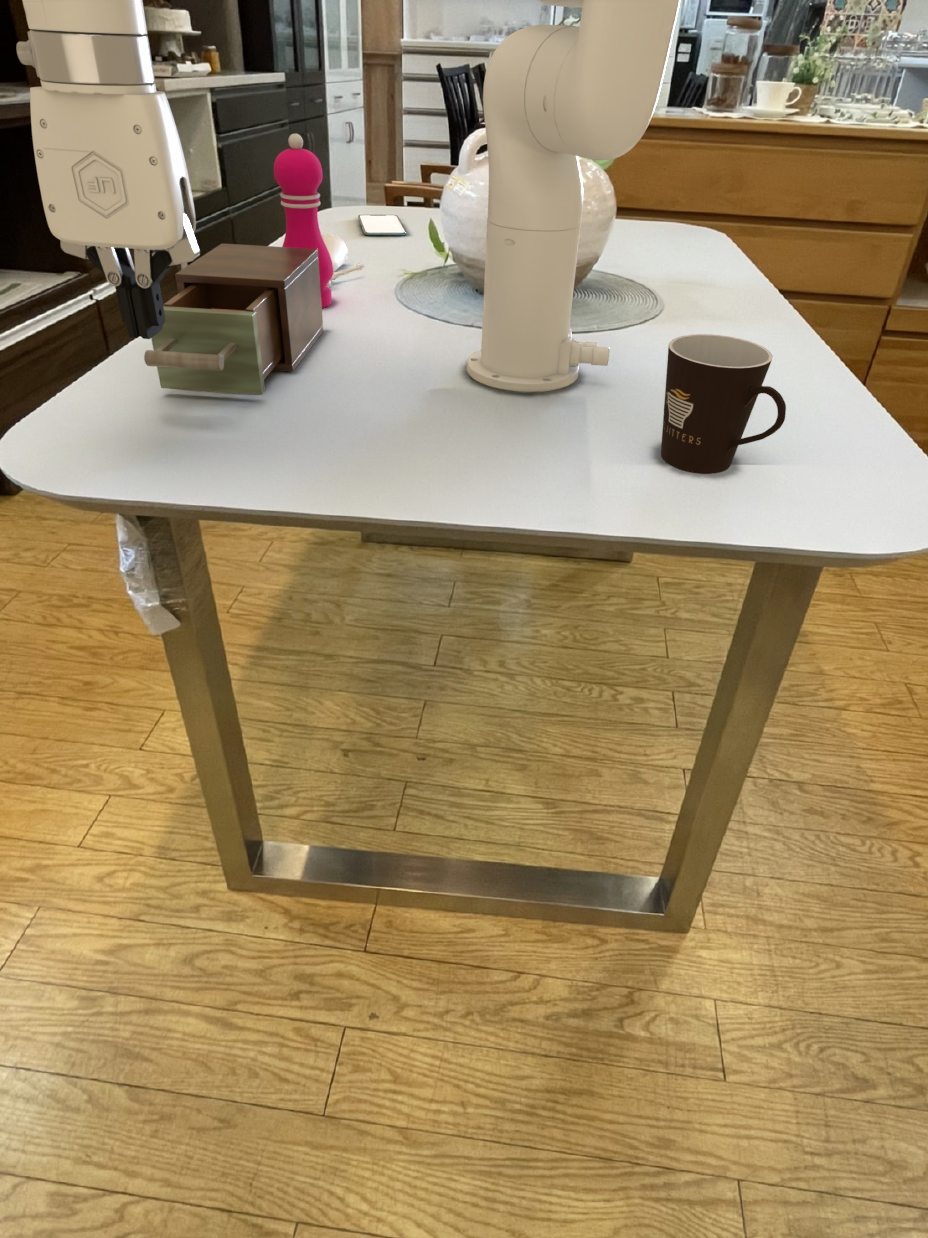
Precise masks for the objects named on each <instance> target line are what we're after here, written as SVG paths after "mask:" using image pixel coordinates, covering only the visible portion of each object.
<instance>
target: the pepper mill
mask: <svg viewBox="0 0 928 1238" xmlns="http://www.w3.org/2000/svg"><path fill="white" fill-rule="evenodd" d="M288 146H289V147H290V148H285V149H284V150H283V151H281V152H280V153H279V154H278V155H277V156H276V158H275V160H274V163H273V177H274V179H275V182H276V183H277V184H278V186H279V187H280V189H281V190H282V191H281V192H280V193H279V197H280V200H281V201H280V205H281V206H283V208H284V214H285V236H284V239H283V243H282V246H281V247H290V248H308V249H318V261H319V276H320V290H321V304H322V309H325V308H326V307H329V306H330V305H331V304H332V298H333V297H332V289H331V287H327V284H328V282H329V281H332V280H331V278H332V276H333V264H332V260H331V257H330V254H329V251H328V249H327V247H326V245H325V243H324V241H323V238H322V236H321V235H322V233H321V229H320V226H319V225H320V224H319V218H318V210H319V209H318V207H320V206H321V201H320V197H321V194H320V193H319V192H318V188H319V187H320V185H321V183H322V181H323V177H324V175H323V168H322V164H321V161H320V159H319V158H318V157H317V156H316V154H314V153H313V152H312V151H310V150H308V149H305V148H303V146H304V139H303V137H302V136H301V134H298V133H292V134H290V135H289V136H288Z"/></svg>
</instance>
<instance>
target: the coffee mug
mask: <svg viewBox="0 0 928 1238" xmlns="http://www.w3.org/2000/svg"><path fill="white" fill-rule="evenodd" d="M667 348H668V350H667V362H666V376H665V390H664V403H663V416H662V418H663V419H662V431H661V433H662V434H661V444H660V445H661V447H660V457H661V459H662V460H663V462H665V464H667V465H669V466H670V467H672V468H674V469H677V470H679V471H683V472H687V473H691V474H698V475H713V474H714V475H716V474H720V473H723V472H726V471H727V470H729V469H730V467H731V465H732V463H733V461H734V457H735V455H736V453H737V450H738V447H739V446H741V445H742V446H743V445H747V444H750V443H754V442H758V441H762V440H764V439H766V438H768V437H770V436H772V435H774V434H775V433H776V432H778V430H780V428H781V427H782V426H783V424H784V422H785V421H786V415H787V414H786V412H787V405H786V401H785V399H784V397H783V395H782V394H781V393H780V392H779V391H778V390H777V389H776V388H774V387H772V386H769V385H763V384H764V382H765V378H766V376H767V373H768V371H769V368H770V366H771V364H772V361H773V354H772V352H771V351H770V350H769V349H767V348H766V347H764V346H762V345H760V344H758V343H756V342H752V341H751V340H750V341H749V340H747V339H744V338H743V339H742V338H738V337H734V336H729V335H721V334H705V333H700V334H697V333H696V334H687V335H686V334H685V335H682V336H678V337H675V338H673V339H672V340H670V341H669V343H668V347H667ZM760 394H766V395H768V396H769V397H771V398H772V400H773V401H774V403H775V405H776V409H777V416H776V420H775V422H774V423H773V425H772V426H770V427H769V428H768V429H766V430H765V431H763V432H761V433H758V434H754V435H751V436H747V437H743V434H744V432H745V430H746V427H747V424H748V422H749V419H750V417H751V414H752V412H753V410H754V407H755V404H756V403H757V399H758V396H759V395H760Z"/></svg>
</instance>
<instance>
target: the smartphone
mask: <svg viewBox="0 0 928 1238" xmlns="http://www.w3.org/2000/svg"><path fill="white" fill-rule="evenodd" d="M357 218H358V221H359V223H360V226H361V229H362V231H363V234H364V235H366V236H405V235H407V230H406V228H405V227H404V224H403V222H402V221H401V219H400V217H399V215H396V214H358V216H357Z"/></svg>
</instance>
